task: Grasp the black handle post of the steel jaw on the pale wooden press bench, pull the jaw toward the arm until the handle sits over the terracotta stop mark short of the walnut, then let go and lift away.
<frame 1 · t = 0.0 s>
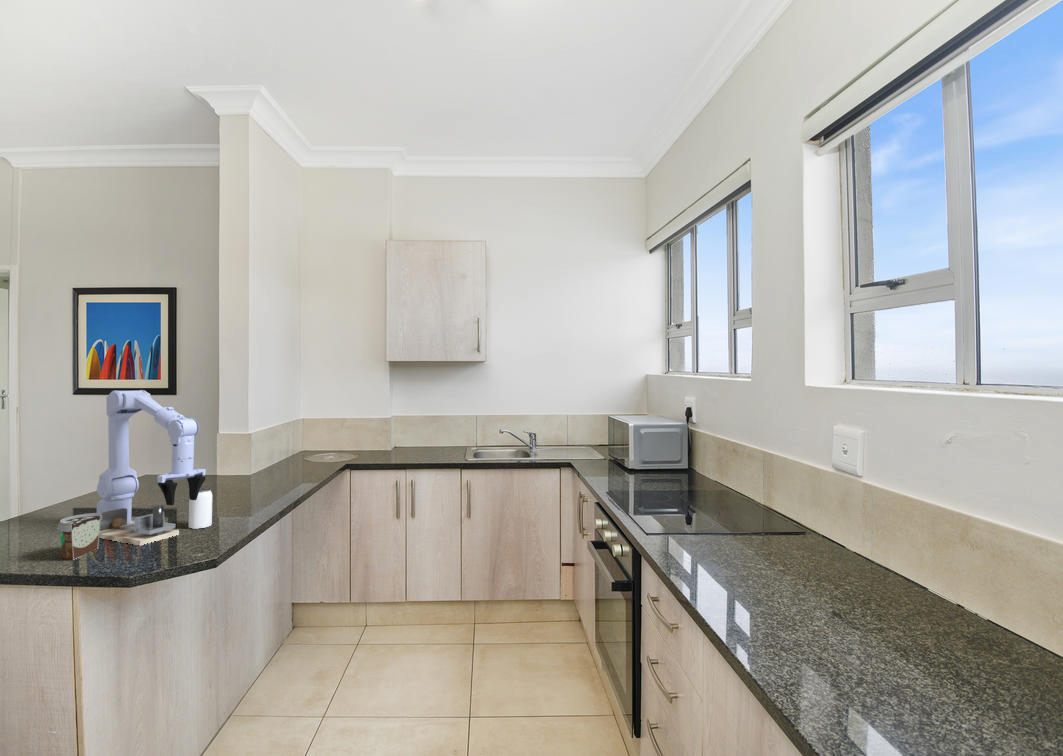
hand: (181, 502, 169), 10 cm above the table, tool pointing down, fingers open, 7 cm apart
can: (200, 527, 179), on the table
food container: (73, 555, 149), on the table
press bench: (133, 535, 167), on the table
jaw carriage: (155, 517, 165), point 6 cm above the table, slide at 0.0 cm
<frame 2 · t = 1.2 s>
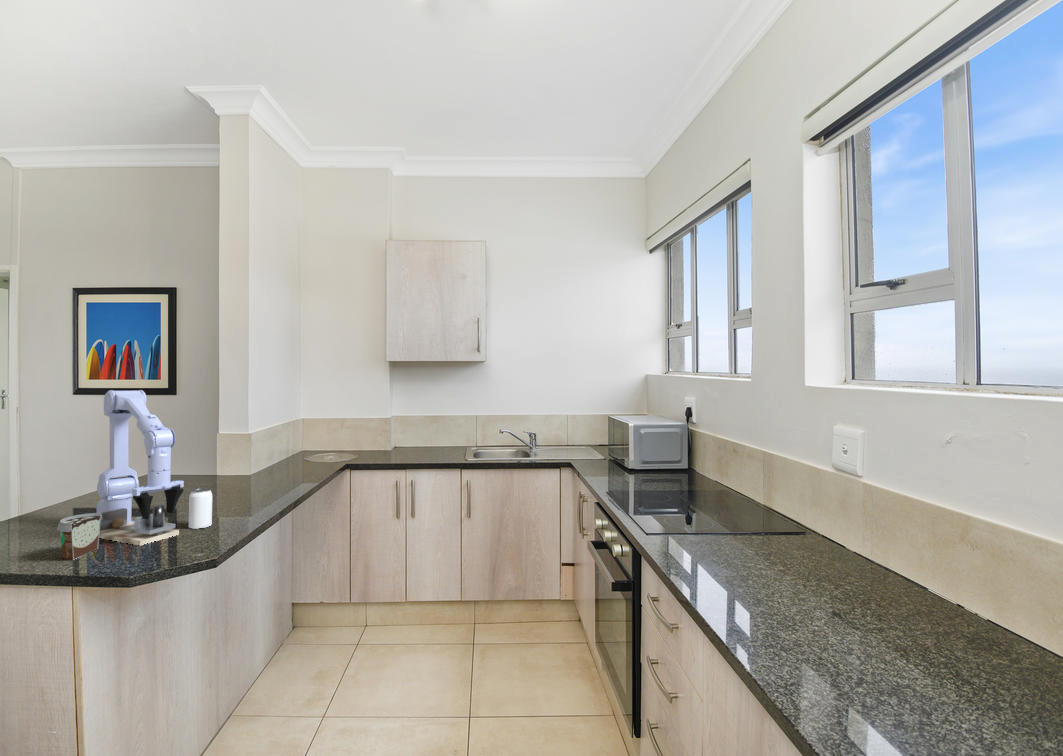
hand: (158, 515, 164), 7 cm above the table, tool pointing down, fingers open, 7 cm apart
nothing on the table moved.
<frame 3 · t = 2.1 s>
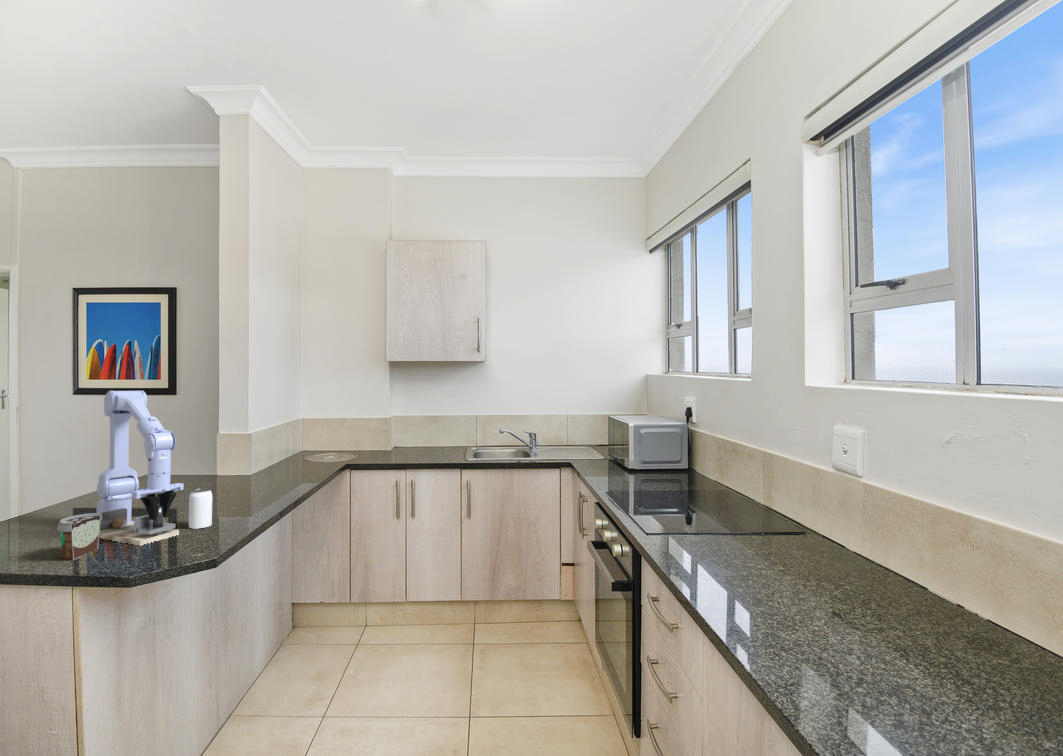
hand: (158, 518, 164), 6 cm above the table, tool pointing down, fingers closed on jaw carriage, 3 cm apart
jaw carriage: (155, 517, 165), point 6 cm above the table, slide at 0.0 cm, touching gripper
everything else where it was.
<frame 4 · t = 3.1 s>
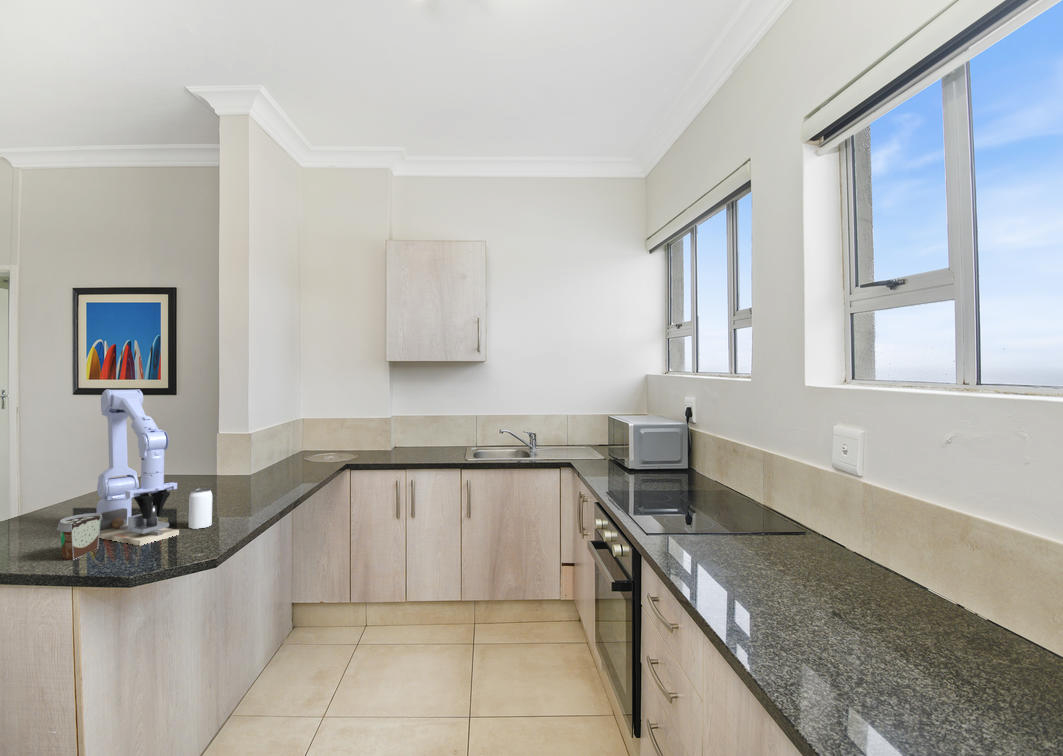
hand: (151, 517, 165), 6 cm above the table, tool pointing down, fingers closed on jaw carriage, 3 cm apart
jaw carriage: (149, 516, 165), point 6 cm above the table, slide at 2.7 cm, touching gripper
everything else where it was.
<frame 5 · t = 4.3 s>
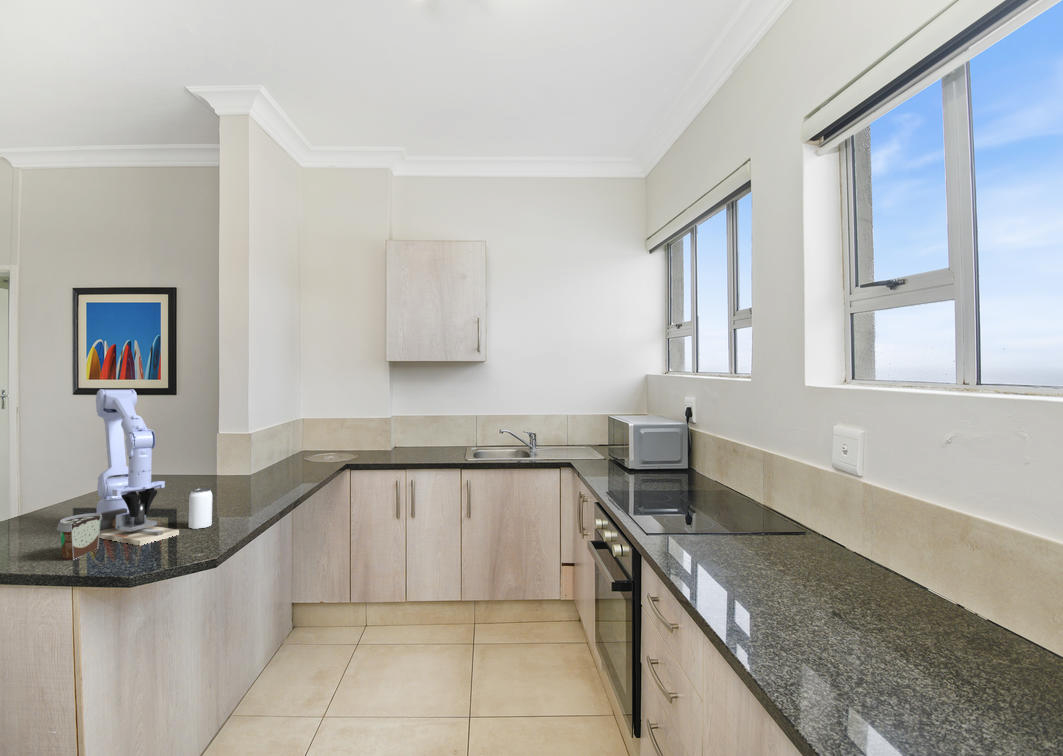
hand: (139, 515, 167), 6 cm above the table, tool pointing down, fingers closed on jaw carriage, 3 cm apart
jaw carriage: (136, 515, 167), point 6 cm above the table, slide at 7.8 cm, touching gripper
everything else where it was.
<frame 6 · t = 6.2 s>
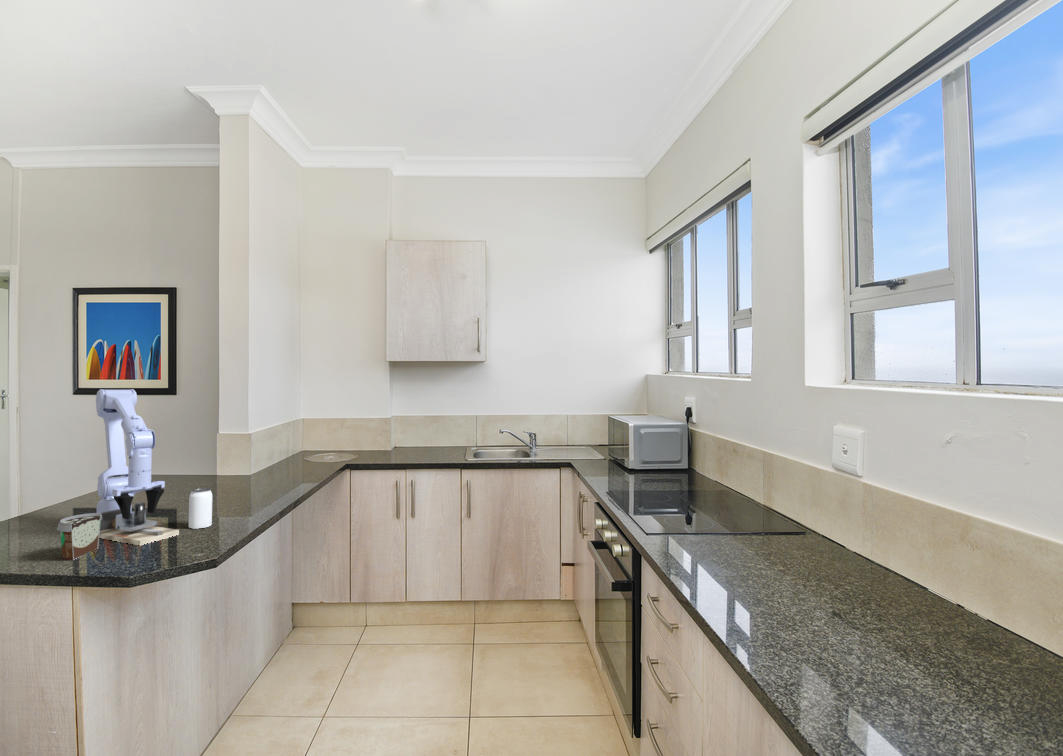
hand: (139, 515, 167), 6 cm above the table, tool pointing down, fingers open, 7 cm apart
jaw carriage: (136, 515, 167), point 6 cm above the table, slide at 7.8 cm
everything else where it was.
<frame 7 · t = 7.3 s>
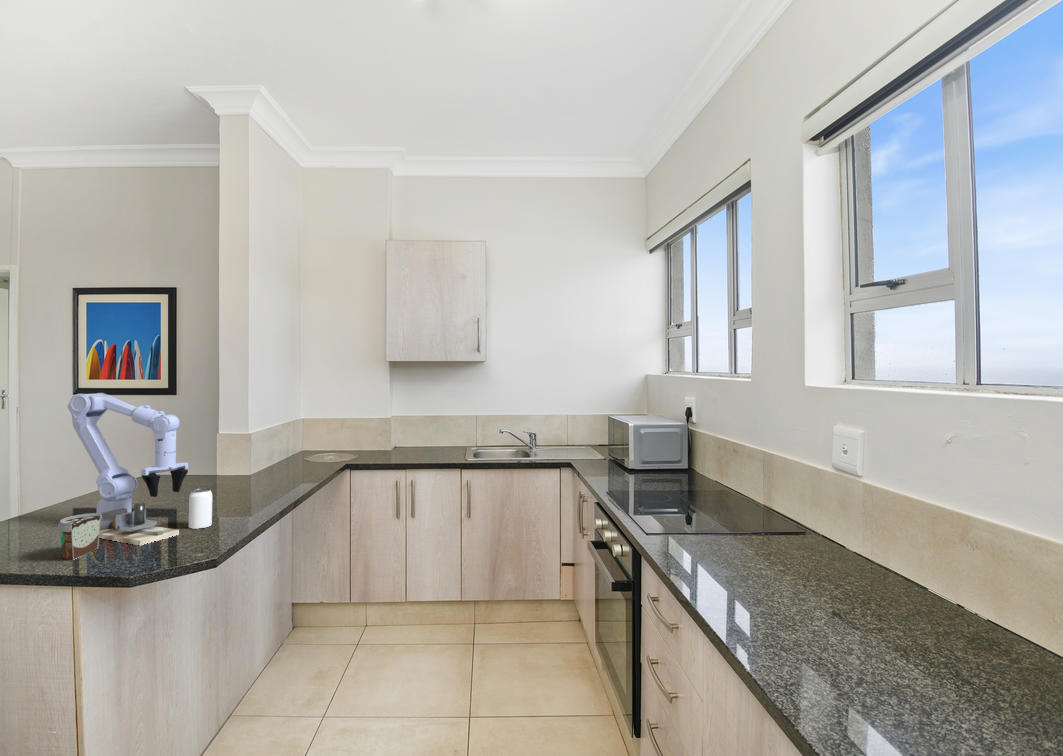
hand: (165, 494, 178), 10 cm above the table, tool pointing down, fingers open, 7 cm apart
nothing on the table moved.
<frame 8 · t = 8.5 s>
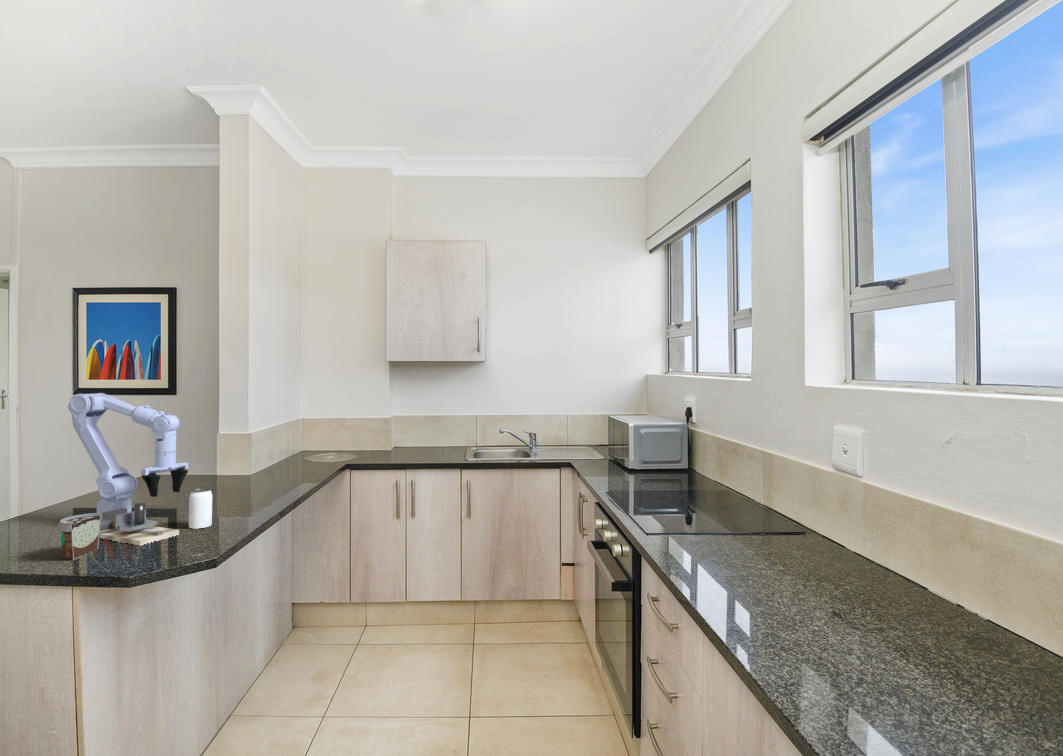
hand: (165, 494, 178), 10 cm above the table, tool pointing down, fingers open, 7 cm apart
nothing on the table moved.
at the end: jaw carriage slide at 7.8 cm; the gripper is holding nothing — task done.
